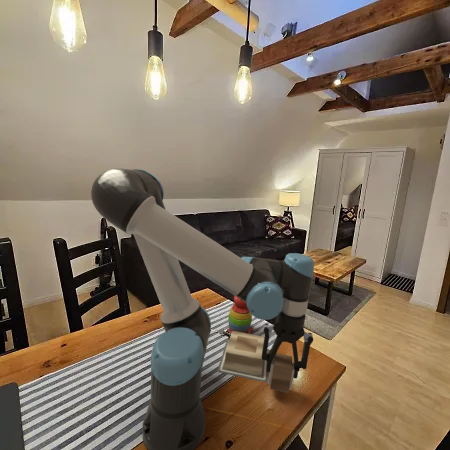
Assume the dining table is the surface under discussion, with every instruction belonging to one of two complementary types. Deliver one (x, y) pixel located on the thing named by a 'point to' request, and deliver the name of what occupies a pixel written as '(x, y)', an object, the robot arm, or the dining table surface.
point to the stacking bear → (240, 317)
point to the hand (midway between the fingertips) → (279, 383)
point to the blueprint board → (245, 375)
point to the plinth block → (244, 353)
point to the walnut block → (282, 373)
